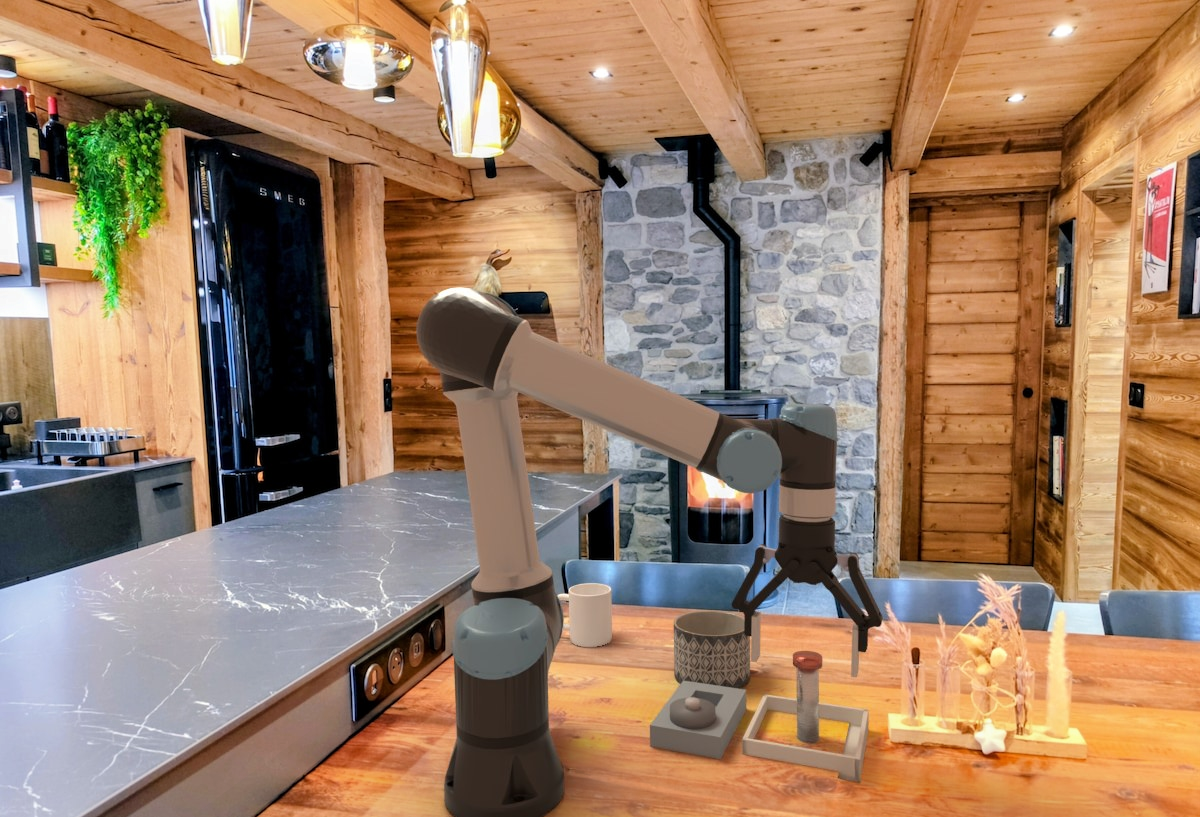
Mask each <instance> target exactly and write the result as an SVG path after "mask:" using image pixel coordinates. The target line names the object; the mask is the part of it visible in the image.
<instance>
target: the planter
mask: <svg viewBox="0 0 1200 817" xmlns="http://www.w3.org/2000/svg"><path fill="white" fill-rule="evenodd" d="M744 617H745V616H743V615H740V614H738V613H734V612H730V611H725V610H715V609H714V610H713V609H712V610H708V609H707V610H706V609H705V610H704V609H703V610H694V611H689V612H684V613H683V614H679V615H677V616H676V617H675V619H674V620H673V655H674V656H673V662H674V663H673V665H674V666H673V670H674V671H673V673H674V675H673V676H674V679H675V680H676V682H678V683H679V685H680V684H681V683H682V681H690V682H697V683H704V684H710V685H717V686H724V687H731V688H738V689H742V688H744V687H747V685H748V684H749V683H750V680H751V636H746V635H745V633H744Z"/></svg>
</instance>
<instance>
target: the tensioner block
mask: <svg viewBox="0 0 1200 817" xmlns="http://www.w3.org/2000/svg"><path fill="white" fill-rule="evenodd" d="M746 711H747V689H742V688H740V689H738V688H731V687H724V686H717V685H710V684H704V683H697V682H690V681H682V683H681V684H680V683H679V686H678V687H677V688H676V689H675V691H674V692H673V694H671V696H670V698H668V700H667V702H665V704H664V706H663V707H662V708H661V709H660V711H659V712H658V713H657V715H656V716H655V717H654V719H653V720H652V722H651V723H650V724H649V747H652V748H657V749H662V750H669V751H673V752H679V753H683V754H689V755H695V756H700V757H706V758H712V759H717V760H721V759H722V757H723V755H724V754H725V752H726V750H727V748H728V746H729V744H730V742H731V740H732V738H733V736H734V735H735V732H736V730H737V728H738V727H739V725H740V723H741V721H742V719H743V717H744V714H745V713H746Z"/></svg>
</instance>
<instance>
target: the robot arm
mask: <svg viewBox="0 0 1200 817" xmlns="http://www.w3.org/2000/svg"><path fill="white" fill-rule="evenodd" d="M416 340H417V344H418V347H419V350H420V352H421V354H422V356H423V357H424V358H425V360H426V361H427V362H428V364H430V365H431V366H432V367H433V368H434V369H435V370H438V371H439V375H440V379H441V380H440V382H441V387H442V394H443V396H445V397H446V398H448V399H449V400H450V401H451V402H453V403H454V405H455V406H456V413H457V422H458V428H459V435H460V441H461V450H462V456H463V461H464V462H463V463H464V469H465V475H466V483H467V489H468V496H469V502H470V509H471V515H472V516H471V517H472V518H471V519H472V524H473V525H472V526H473V530H474V531H473V532H474V536H475V546H476V551H477V557H478V558H477V559H478V565H479V566H478V567H479V571H478V573H477V575H476V576H475V577H474V579H473V580H472V581H471V592H472V599H473V604H474V605H471V606H469V607H468V608H467V609H466V610H464V611H463V612H461V613H460V615H458V617H457V619H456V621H455V624H454V626H453V637H452V641H451V646H452V655H453V669H454V672H453V673H454V674H453V675H454V696H455V697H454V700H455V723H456V727H455V728H456V739H455V742H454V746H453V750H452V753H451V756H450V759H449V763H448V766H447V769H446V773H445V776H444V781H443V782H444V783H443V792H444V793H443V795H444V804H445V807H446V808H447V810H448V811H449V812H450V814H452V816H454V817H542V816H545V815H546V814H548V813H549V812H551V811H552V810H553V809H555V807H556V806H558V804H559V803H560V802H561V800H562V798H563V797H564V794H565V793H564V792H565V773H564V768H563V764H562V763H561V760H560V757H559V753H558V751H557V748H556V745H555V742H554V739H553V737H552V734H551V731H550V719H549V718H550V716H549V713H550V712H549V670H550V667H551V663H552V660H553V658H554V654H555V651H556V649H557V647H558V645H559V643H560V639H561V638H562V634H563V630H562V628H563V623H564V622H565V621H564V619H565V618H564V611H563V610H564V609H563V606H562V603H561V600H559V598H558V596H557V595H558V594H557V593H556V590H555V581H554V576H553V571H552V569H551V567H550V566H548V565H546V564H545V563H544V562H542V561H541V559H540V553H539V544H538V538H537V531H536V522H535V517H534V509H533V503H532V495H531V490H530V489H531V488H530V482H529V474H528V467H527V460H526V453H525V446H524V440H523V432H522V424H521V419H520V418H521V417H520V410H519V404H518V395H519V394H521V395H524V396H525V397H529V399H530V398H531V399H533V400H535V401H537V402H540V403H542V404H544V405H547V406H549V407H551V408H554V409H557V410H559V411H561V412H563V413H565V414H568V415H570V416H572V417H575V418H576V419H579V420H581V421H584V422H586V423H588V424H591V425H593V426H596V427H598V428H600V429H603V430H605V431H607V432H609V433H612V434H614V435H617V436H619V437H622V438H624V439H626V440H628V441H630V442H633V443H635V444H636V445H637V444H638V445H640V446H642V447H645V448H647V449H649V450H652V451H654V452H657V453H659V454H661V455H663V456H665V457H668V458H671V459H672V460H675V461H678V462H679V463H682V464H685V465H687V466H689V467H692V468H693V469H696V471H698V472H699V473H704V474H706V475H708V476H710V477H713V478H715V479H718V480H720V481H722V482H723V483H725V485H726V486H727V487H728V488H730V489H733V490H735V491H737V492H740V493H744V494H757V493H761V492H763V491H766V490H767V489H769V488H770V487H771V486H772V485H774V483H775V482H776V481H777V479H778V478H779V497H778V498H779V500H778V501H779V502H778V506H779V508H778V511H779V512H780V513H781V514H782V515H781V516H780V517H779V519H778V546H777V548H772V547H767V545H766V544H764V543H763V544H762V543H761V544H760V545H758V547H757V548H756V549H755V550H754V551H755V552H754V559H753V564H752V565H751V567H750V569H749V571H748V573H747V574H746V576H745V578H744V579H743V581H742V584H741V586H740V587H739V589H738V590H737V593H736V594H735V596H734V598H733V600H732V602H731V607H732V608H733V609H734V610H738V611H741V612H742V613H743V615H744V616H743V617H744V633H745V635H746V636H750V662H752V663H757V662H758V660H759V659H760V657H761V625H762V624H761V623H762V620H761V619H762V615H761V614H762V613H761V612H762V611H760V610H757V609H758V608H759V607H760V606H761V605H762V604H763V603H764V602H765V601H766V600H767V599H768V598H769V597H770V596H771V595H772V594H773V593H774V592H775V590H776V589H777V588H778V587H780V586H781V584H783V583H784V582H786V580H787V579H789V580H790V581H792V583H794V584H803V583H806V584H808V585H813V586H817V585H819V584H822V585H823V586H824V587H825V589H826V590H828V591H829V593H831V595H832V596H833V597H834V599H835V600H836V601H837V603H839V605H840V607H842V609H843V610H844V611H845V612H846V614H847V615H848V616H849V617H850V619H851V620H852V622H854V623H853V625H852V626H853V627H852V630H851V665H850V666H851V668H850V670H851V671H850V677H851V678H858V676H859V675H858V674H859V669H860V653H866V652H867V650H868V645H869V629H870V628H871V629H872V628H880V627H881V626H882V622H883V617H884V616H883V614H882V613H881V610H880V608H879V606H878V604H877V602H876V601H875V598H874V596H873V594H872V592H871V590H870V588H869V585H868V584H867V581H866V579H865V578H864V576H863V574H862V571H861V569H860V558H859V555H858V554H857V553H856V552H851V553H850V554H837V552H836V547H835V544H836V521H835V519H834V518H833V517H834V516H835V515H836V504H837V503H836V498H837V495H836V494H837V487H836V485H837V484H836V477H837V476H836V474H837V449H838V441H839V438H838V425H837V424H838V423H837V422H838V420H837V413H836V410H835V409H834V408H833V407H832V406H830V405H827V404H815V403H814V404H812V403H810V404H809V403H796V404H794V403H792V404H791V403H790V404H784V405H783V406H782V407H781V409H780V413H779V418H778V417H776V418H769V419H767V418H766V419H763V418H762V419H761V418H760V419H759V418H757V419H755V418H733V417H731V416H729V415H726V414H723V413H720V411H718V410H714V409H712V408H710V407H707V406H706V405H703V404H700V403H697V402H696V401H693V400H691V399H688V398H687V397H684V396H681V394H677V393H675V392H674V391H673V392H672V391H671V390H669V389H666V388H663V387H661V386H659V385H656V384H654V383H652V382H650V381H647V380H644V379H642V378H640V377H638V376H635V375H633V374H631V373H629V372H626V371H625V370H622V369H620V368H617V367H614V366H612V365H610V364H607V363H606V362H603V361H601V360H598V359H596V358H594V357H591V356H589V355H586V353H585V354H584V353H582V352H580V351H578V350H575V349H573V348H571V347H569V346H566V345H564V344H561V343H559V342H557V341H554V340H552V339H550V338H548V337H545V336H543V335H540V334H538V333H536V332H533V330H532V327H531V325H530V323H529V321H528V320H526V319H524V318H522V317H519V315H518V313H517V312H516V311H515V309H514V308H513V307H512V306H511V305H510V304H509V303H508V302H507V301H505V300H504V299H502V298H501V297H499V296H497V295H494V294H492V293H488V292H484V291H480V290H478V289H475V288H473V287H472V288H471V287H465V286H464V287H463V286H456V287H451V288H448V289H444V290H442V291H440V292H438V293H436V294H435V295H433V296H432V297H431V298H430V299H429V300H428V301H427V302H426V303H425V305H424V306H423V307H422V309H421V311H420V314H419V315H418V319H417V322H416ZM772 558H775V561H776V562H777V564H778V566H780V568H781V569H780V570H778V572H777V574H775V575H774V576H773V577H772V578H771V580H769V581H768V582H767V583H766V584H765V586H764V587H763V588H761V590H760V591H759V592H758V593H757V594H756V595H755V596H753V598H752V599H751V600H750V601H749V600H746V598H747V596H748V594H749V593H750V591H751V589H752V587H753V585H754V583H755V581H756V580H757V578H758V576H759V575H760V572H761V571H762V569H763V568H764V565H765V564H768V563H769V562H770V561H771V559H772ZM837 565H840V566H841V567H842V569H843V570H844V571H845V572H848V574H849V578H850V579H851V582H852V584H853V586H854V589H855V591H856V592H857V595H858V596H859V599H860V601H861V603H862V605H863V607H864V609H865V612H866V613H867V615H866V614H865V613H864V611H863V610H862V609H861V608H860V607H859V605H858V604H857V602H856V601H855V600H854V599H853V598H852V597H851V594H849V593H848V591H847V590H846V589H845V588H844V586H843V585H842V583H841V582H840V581H839V580H838V578H837V576H836V575H835V574H834V572H833V570H834V569H835V567H836V566H837ZM564 624H565V623H564Z"/></svg>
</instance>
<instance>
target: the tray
mask: <svg viewBox="0 0 1200 817" xmlns="http://www.w3.org/2000/svg"><path fill="white" fill-rule="evenodd" d="M767 711H774V712H780V713H781V712H782V713H787V714H793V715H797V698H793V697H785V696H779V695H772V694H771V695H770V694H767V693H766V694H763V696H762V698H761V700H760V702H759V704H758V706H757V709H756V710H755V713H754V714H753V715H752V719H751V720H750V723H749V725H748V727H747V729H746V731H745V733H744V735H743V736H742V740H741V742H742V743H741V744H742V745H741V746H742V747H741V748H742V750H741V751H742V752H741V753H742V755H746V756H752V757H756V758H761V759H762V758H763V759H768V760H772V761H773V760H774V761H779V762H783V763H784V762H785V763H789V764H795V765H801V766H802V765H803V766H808V767H812V768H813V767H814V768H819V769H823V770H830V771H834V772H838V773H837V776H836V777H837V779H839V780H845V781H851V782H857V783H861V779H862V778H861V776H862V771H863V765H864V759H865V753H866V746H867V742H868V734H869V728H870V727H869V718H870V717H869V714H870V713H869V712H870V710H869V709H865V708H861V707H860V708H859V707H852V706H847V705H840V704H834V703H833V704H831V703H825V702H821V701H819V719H820V718H821V719H825V720H826V719H827V720H833V721H840V722H846V723H848V726H847V727H848V728H847V733H846V737H845V742H844V746H843V750H842V753H837V752H832V751H831V752H830V751H824V750H821V749H820V750H819V749H813V748H809V747H808V748H807V747H802V746H797V745H796V746H795V745H790V744H789V745H788V744H783V743H779V742H778V743H777V742H773V741H772V742H771V741H767V740H761V739H755V737H756V735H757V733H758V731H759V729H760V726H761V725H762V722H763V720H764V718H765V715H766V713H767Z"/></svg>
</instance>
